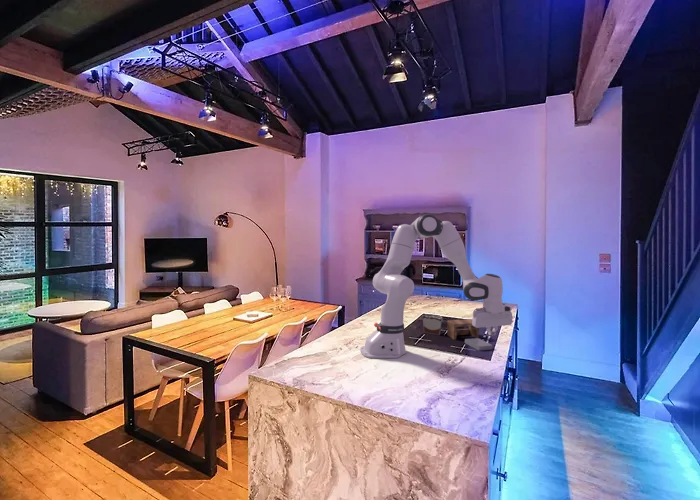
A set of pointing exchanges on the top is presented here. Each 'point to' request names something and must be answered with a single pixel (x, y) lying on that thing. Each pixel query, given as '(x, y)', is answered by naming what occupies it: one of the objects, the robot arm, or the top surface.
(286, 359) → the top surface
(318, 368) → the top surface
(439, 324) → the food container
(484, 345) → the slate tile
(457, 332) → the walnut shelf
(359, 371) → the top surface
